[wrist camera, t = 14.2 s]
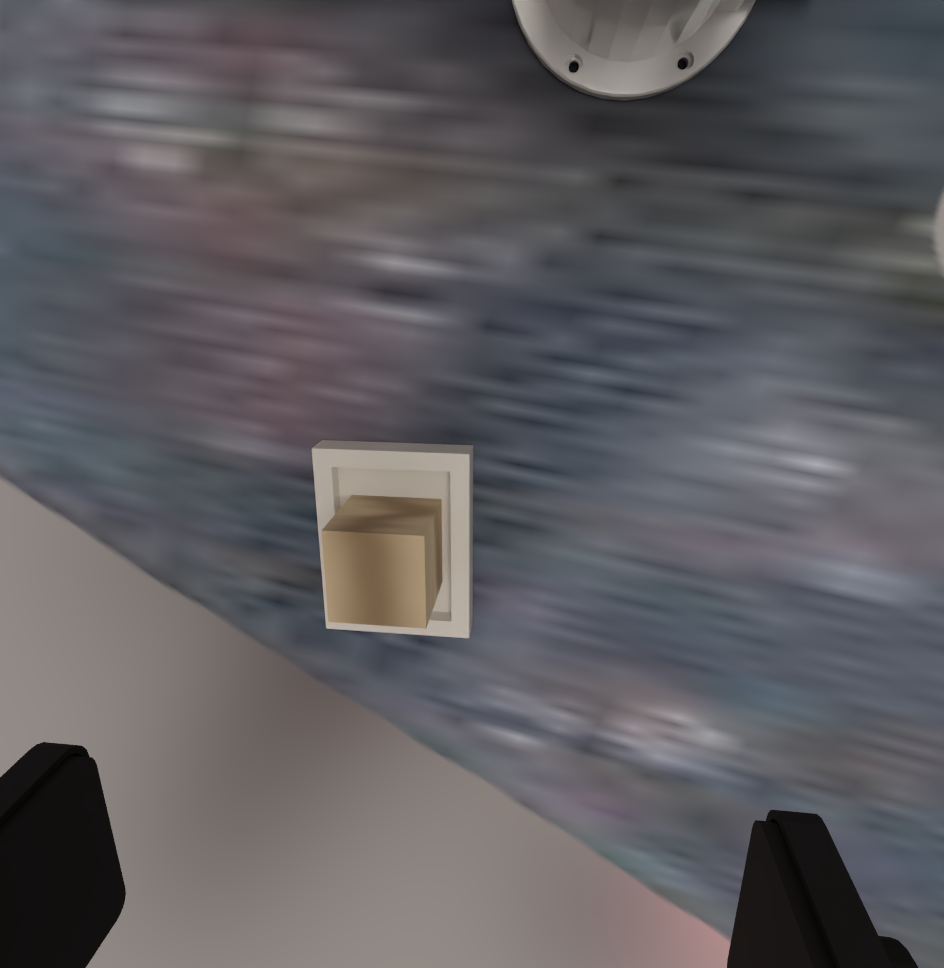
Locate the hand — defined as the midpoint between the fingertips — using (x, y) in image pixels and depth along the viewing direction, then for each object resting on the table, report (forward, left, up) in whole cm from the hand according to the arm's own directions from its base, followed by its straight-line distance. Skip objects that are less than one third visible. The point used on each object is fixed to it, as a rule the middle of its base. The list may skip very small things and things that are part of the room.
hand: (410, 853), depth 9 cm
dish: (+8, +10, -33) cm, 36 cm away
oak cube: (+8, +10, -32) cm, 35 cm away
